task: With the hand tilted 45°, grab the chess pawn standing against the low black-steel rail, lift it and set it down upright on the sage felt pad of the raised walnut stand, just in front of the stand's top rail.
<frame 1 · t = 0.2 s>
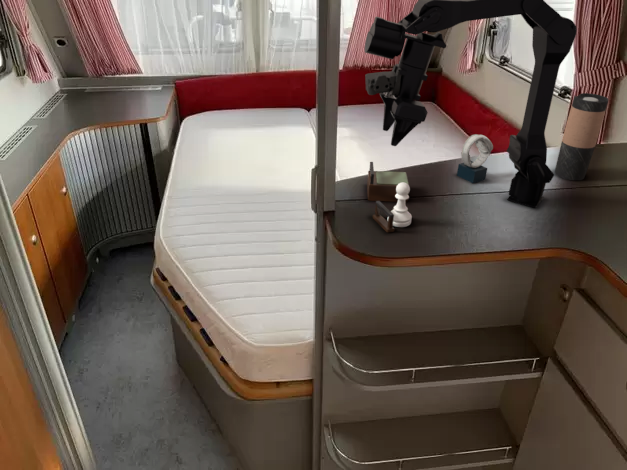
hand: (389, 137, 113), 15 cm above the table, tool pointing down, fingers open, 9 cm apart
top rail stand: (386, 193, 124), on the table
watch: (470, 178, 133), on the table
low rail: (383, 224, 111), on the table
chess pawn: (399, 222, 112), on the table
travel mug: (569, 175, 136), on the table
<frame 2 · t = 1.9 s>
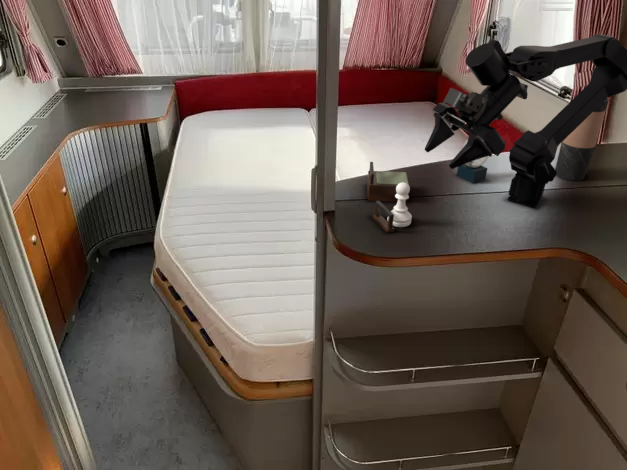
hand: (437, 158, 108), 13 cm above the table, tool tilted 45°, fingers open, 9 cm apart
nothing on the table moved.
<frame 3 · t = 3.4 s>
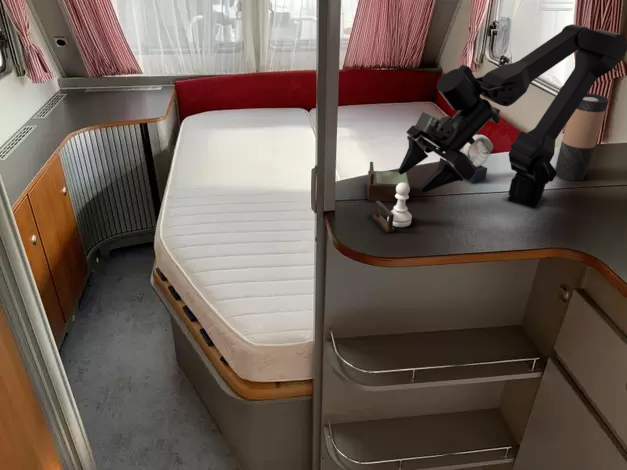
hand: (410, 181, 108), 9 cm above the table, tool tilted 45°, fingers open, 9 cm apart
nothing on the table moved.
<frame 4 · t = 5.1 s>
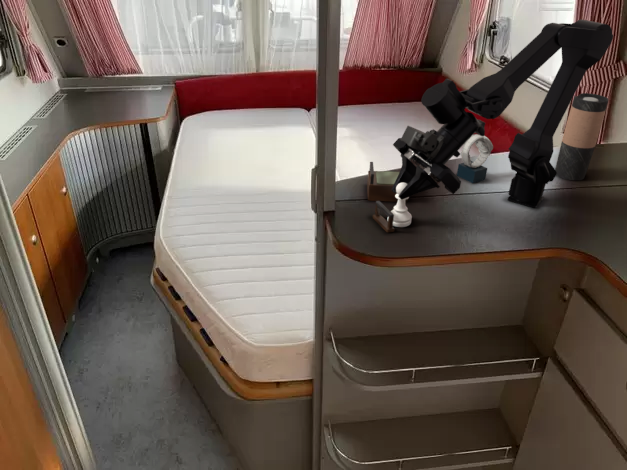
hand: (396, 194, 109), 7 cm above the table, tool tilted 45°, fingers closed on chess pawn, 3 cm apart
chess pawn: (399, 222, 112), on the table, touching gripper
everything else where it was.
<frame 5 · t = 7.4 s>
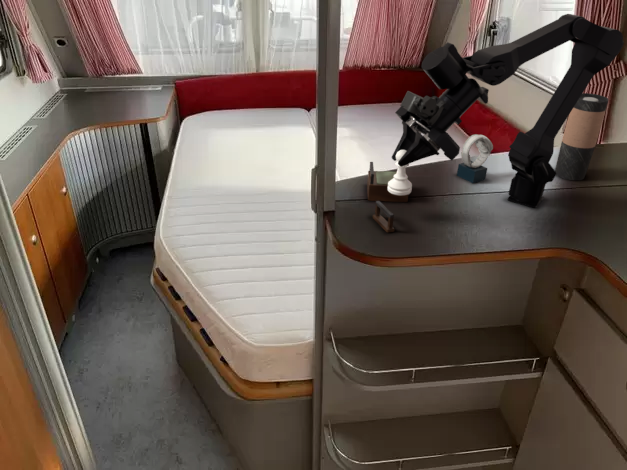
hand: (395, 162, 108), 13 cm above the table, tool tilted 45°, fingers closed on chess pawn, 3 cm apart
chess pawn: (399, 191, 111), point 6 cm above the table, touching gripper
everything else where it was.
when the fingers open (11 cm above the table, at t = 10.1 s): chess pawn stays where it is, resting on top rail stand.
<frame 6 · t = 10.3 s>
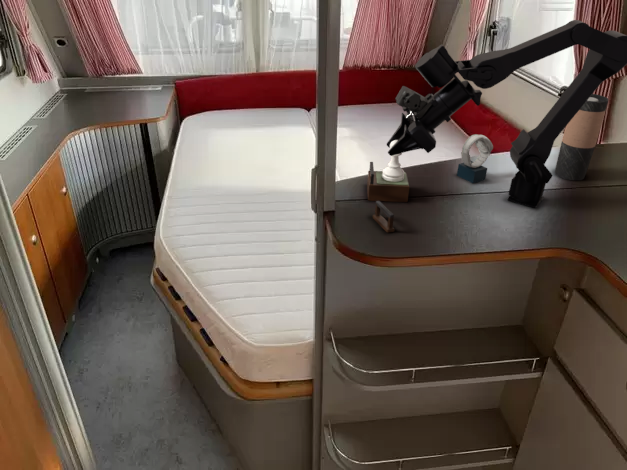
hand: (388, 150, 118), 11 cm above the table, tool tilted 45°, fingers open, 5 cm apart
chess pawn: (392, 178, 122), point 4 cm above the table, touching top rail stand
everything else where it was.
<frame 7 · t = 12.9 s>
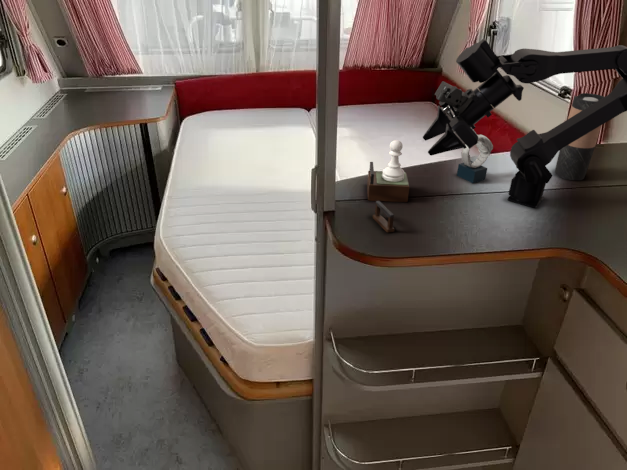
hand: (426, 146, 117), 12 cm above the table, tool tilted 45°, fingers open, 9 cm apart
nothing on the table moved.
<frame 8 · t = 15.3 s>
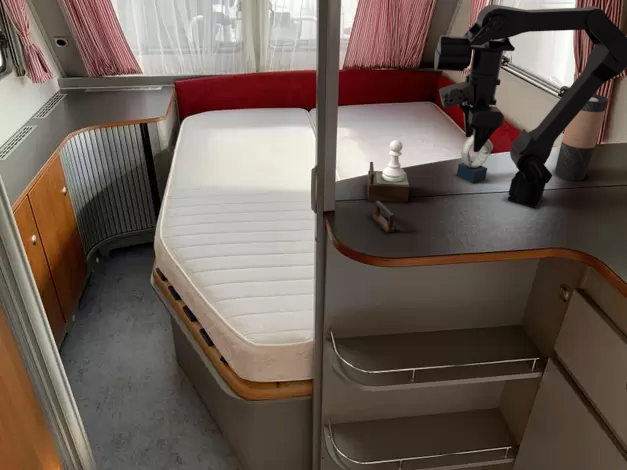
hand: (471, 144, 117), 13 cm above the table, tool pointing down, fingers open, 9 cm apart
nothing on the table moved.
at the end: chess pawn inside the target area on the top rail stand (0.7 cm from its centre), point 4.0 cm above the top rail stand's base; chess pawn tilted 0°; the gripper is holding nothing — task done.
